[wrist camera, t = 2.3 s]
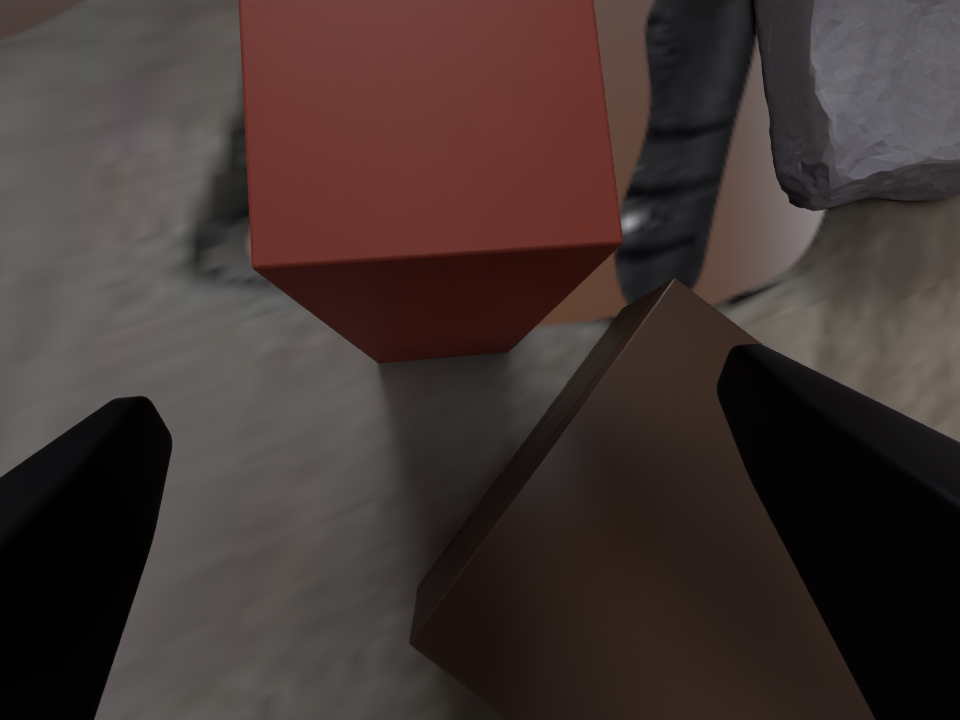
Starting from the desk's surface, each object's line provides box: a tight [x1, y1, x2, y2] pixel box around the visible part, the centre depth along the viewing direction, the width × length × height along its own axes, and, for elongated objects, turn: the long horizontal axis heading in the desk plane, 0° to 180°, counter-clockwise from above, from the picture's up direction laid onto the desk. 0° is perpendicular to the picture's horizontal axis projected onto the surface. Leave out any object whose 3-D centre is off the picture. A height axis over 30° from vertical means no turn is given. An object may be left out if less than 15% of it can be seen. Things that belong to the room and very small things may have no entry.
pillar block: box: [239, 0, 623, 363], centre depth 13 cm, size 5×5×12 cm
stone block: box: [754, 0, 960, 211], centre depth 20 cm, size 12×5×10 cm
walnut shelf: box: [409, 278, 874, 720], centre depth 17 cm, size 13×12×4 cm
